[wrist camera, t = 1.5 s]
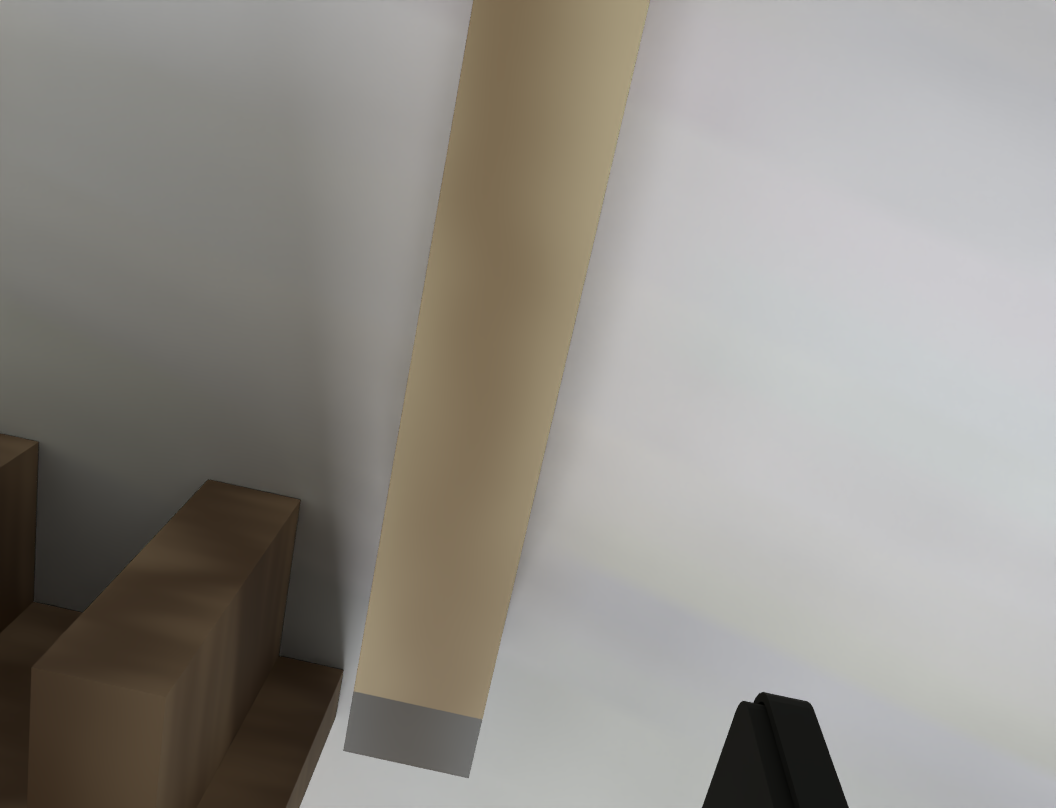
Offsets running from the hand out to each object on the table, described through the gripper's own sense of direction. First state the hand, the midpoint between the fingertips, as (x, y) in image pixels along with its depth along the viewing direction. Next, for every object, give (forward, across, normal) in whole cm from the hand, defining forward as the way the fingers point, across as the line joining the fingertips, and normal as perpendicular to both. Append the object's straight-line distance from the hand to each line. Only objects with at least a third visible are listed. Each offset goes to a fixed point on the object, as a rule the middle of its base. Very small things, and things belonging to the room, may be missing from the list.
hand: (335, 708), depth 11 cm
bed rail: (+18, -1, 0) cm, 18 cm away
